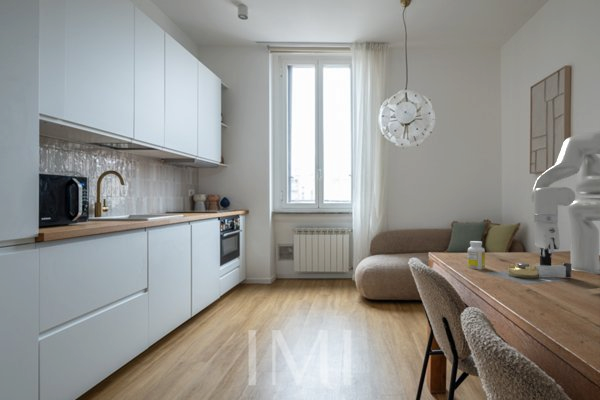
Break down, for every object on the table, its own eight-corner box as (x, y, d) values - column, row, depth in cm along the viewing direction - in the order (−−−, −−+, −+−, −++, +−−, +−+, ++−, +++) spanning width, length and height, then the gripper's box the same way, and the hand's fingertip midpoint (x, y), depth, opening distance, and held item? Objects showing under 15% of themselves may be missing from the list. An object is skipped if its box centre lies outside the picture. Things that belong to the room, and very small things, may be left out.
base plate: (521, 273, 147) (522, 269, 147) (569, 284, 128) (569, 280, 128) (482, 276, 142) (482, 272, 142) (525, 288, 123) (525, 283, 123)
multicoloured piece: (514, 278, 131) (514, 264, 131) (504, 272, 141) (504, 259, 141) (578, 280, 127) (578, 265, 127) (563, 274, 137) (563, 261, 137)
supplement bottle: (481, 269, 155) (481, 240, 155) (487, 272, 149) (487, 242, 149) (465, 269, 156) (465, 240, 156) (471, 272, 149) (471, 242, 149)
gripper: (567, 220, 128) (567, 270, 128) (547, 218, 142) (546, 263, 143) (544, 220, 129) (544, 270, 129) (526, 218, 144) (526, 262, 144)
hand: (545, 266), depth 136 cm, fingers closed
